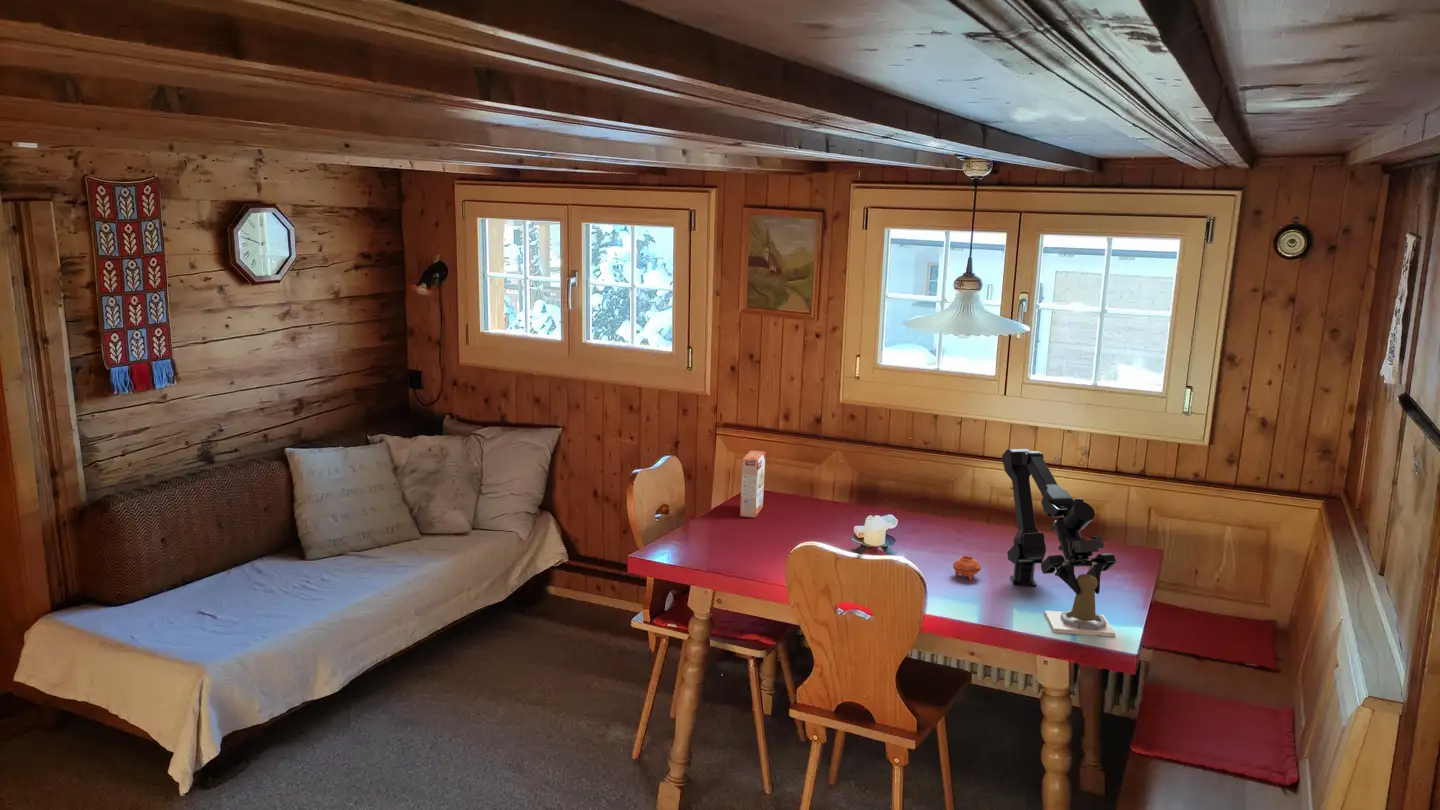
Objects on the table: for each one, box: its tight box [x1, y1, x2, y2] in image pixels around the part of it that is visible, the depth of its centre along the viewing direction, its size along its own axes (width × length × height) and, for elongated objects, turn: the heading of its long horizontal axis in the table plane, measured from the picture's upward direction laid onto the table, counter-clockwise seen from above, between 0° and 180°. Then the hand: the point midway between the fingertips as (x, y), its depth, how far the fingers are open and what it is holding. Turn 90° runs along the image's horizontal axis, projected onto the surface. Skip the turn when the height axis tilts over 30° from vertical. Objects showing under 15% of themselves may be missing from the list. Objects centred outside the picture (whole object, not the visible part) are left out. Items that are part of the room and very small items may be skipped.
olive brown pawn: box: [1071, 573, 1098, 621], centre depth 255 cm, size 6×6×11 cm
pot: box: [952, 555, 982, 582], centre depth 289 cm, size 8×8×7 cm
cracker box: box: [739, 450, 767, 519], centre depth 346 cm, size 14×6×21 cm, turn 167°
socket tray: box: [1044, 608, 1116, 637], centre depth 256 cm, size 12×15×2 cm
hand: (1088, 593), depth 253 cm, fingers closed on olive brown pawn, 5 cm apart
